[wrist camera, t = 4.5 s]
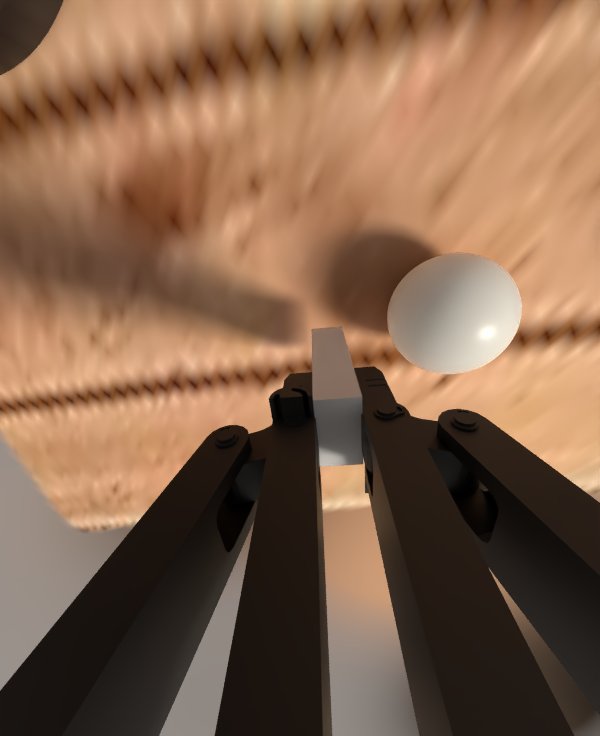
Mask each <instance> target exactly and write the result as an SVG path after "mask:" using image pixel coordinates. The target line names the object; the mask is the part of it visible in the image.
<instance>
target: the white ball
mask: <svg viewBox="0 0 600 736" xmlns="http://www.w3.org/2000/svg"><path fill="white" fill-rule="evenodd" d="M521 312H522V303H521V298H520V293H519V290H518V288H517V285H516V284H515V282H514V280H513V279H512V277H511V276H510V275H509V273H508V272H507V271H506V270H505V269H504V268H502V267H501V266H500V265H499V264H497V263H496V262H494V261H492V260H490V259H488V258H486V257H483V256H480V255H476V254H471V253H449V254H444V255H440V256H436V257H433V258H431V259H429V260H427V261H425V262H423V263H421V264H419V265H418V266H416V267H415V268H414V269H412V270H411V271H410V272H409V273H408V274H407V275H406V276H405V277H404V278H403V279H402V280H401V281H400V283H399V284H398V285H397V287H396V289H395V290H394V292H393V295H392V297H391V299H390V303H389V306H388V312H387V323H388V330H389V334H390V337H391V339H392V342H393V344H394V345H395V347H396V349H397V350H398V351H399V352H400V353H401V355H402V356H403V357H404V358H405V359H407V360H408V361H409V362H411V363H412V364H414V365H415V366H417V367H419V368H422V369H424V370H427V371H430V372H434V373H441V374H457V373H463V372H468V371H472V370H475V369H477V368H480V367H482V366H484V365H486V364H487V363H489V362H491V361H492V360H494V359H495V358H496V357H497V356H499V355H500V354H501V353H502V352H503V351H504V350H505V349H506V348H507V346H508V345H509V344H510V342H511V341H512V340H513V338H514V336H515V334H516V332H517V330H518V327H519V324H520V319H521Z"/></svg>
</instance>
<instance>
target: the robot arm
mask: <svg viewBox="0 0 600 736" xmlns="http://www.w3.org/2000/svg"><path fill="white" fill-rule="evenodd" d="M62 3H63V0H0V75H1V74H3V73H5V72H7V71H9V70H11V69H12V68H14V67H15V66H17V65H18V64H19V63H21V62H22V61H23V60H24V59H25V58H27V57H28V56H29V55H30V54H31V53H32V52H33V51H34V50H35V48H36V47H37V46H38V45H39V44H40V43H41V41H42V40H43V38H44V37H45V36H46V34H47V33H48V31H49V29H50V28H51V26H52V24H53V22H54V20H55V19H56V16H57V14H58V12H59V10H60V7H61V5H62ZM269 402H270V408H271V413H272V419H273V423H272V425H271V426H269V427H268V428H266V429H263V430H261V431H258V432H254V433H251V434H248V430H247V429H245V428H244V427H242V426H238V425H229V426H225V427H221V428H219V429H217V430H215V431H213V432H212V433H211V434H210V435H209V436H208V437H207V438H206V439H205V440H204V442H203V443H202V444H201V445H200V446H199V448H198V449H197V450H196V451H195V453H194V454H193V455H192V456H191V458H190V459H189V460H188V461H187V462H186V464H185V465H184V466H183V467H182V469H181V470H180V471H179V472H178V473H177V475H176V476H175V477H174V478H173V480H172V481H171V482H170V483H169V485H168V486H167V487H166V488H165V489H164V491H163V492H162V493H161V494H160V496H159V497H158V498H157V499H156V500H155V502H154V503H153V504H152V505H151V507H150V508H149V509H148V510H147V511H146V513H145V514H144V515H143V516H142V518H141V519H140V520H139V521H138V523H137V524H136V525H135V526H134V527H133V529H132V530H131V531H130V532H129V534H128V535H127V536H126V537H125V538H124V540H123V541H122V542H121V544H120V545H119V546H118V547H117V548H116V550H115V551H114V552H113V553H112V554H111V556H110V557H109V558H108V559H107V561H106V562H105V563H104V564H103V565H102V567H101V568H100V569H99V570H98V572H97V573H96V574H95V575H94V576H93V578H92V579H91V580H90V581H89V583H88V584H87V585H86V586H85V588H84V589H83V590H82V591H81V593H80V594H79V595H78V596H77V597H76V599H75V600H74V601H73V602H72V604H71V605H70V606H69V607H68V608H67V610H66V611H65V612H64V613H63V615H62V616H61V617H60V618H59V619H58V621H57V622H56V623H55V624H54V626H53V627H52V628H51V629H50V630H49V632H48V633H47V634H46V636H45V637H44V638H43V639H42V640H41V642H40V643H39V644H38V646H37V647H36V648H35V649H34V650H33V651H32V653H31V654H30V655H29V656H28V658H27V659H26V660H25V661H24V662H23V664H22V665H21V666H20V667H19V668H18V670H17V671H16V673H14V675H13V676H12V677H11V678H10V680H9V681H8V682H7V683H6V685H5V686H4V687H3V688H2V689H1V691H0V736H159V734H160V732H161V730H162V728H163V725H164V723H165V721H166V719H167V716H168V714H169V712H170V710H171V707H172V705H173V703H174V701H175V698H176V696H177V694H178V691H179V689H180V687H181V685H182V682H183V680H184V678H185V676H186V673H187V671H188V669H189V667H190V664H191V662H192V660H193V657H194V655H195V653H196V651H197V648H198V646H199V644H200V642H201V639H202V637H203V635H204V633H205V630H206V628H207V626H208V624H209V621H210V619H211V617H212V615H213V612H214V610H215V608H216V606H217V603H218V601H219V599H220V596H221V594H222V592H223V590H224V587H225V585H226V583H227V580H228V578H229V576H230V574H231V572H232V569H233V567H234V565H235V563H236V560H237V558H238V556H239V554H240V551H241V549H242V547H243V545H244V542H245V540H246V538H247V536H248V533H249V531H250V528H251V526H252V524H253V522H254V526H253V532H252V537H251V542H250V548H249V553H248V558H247V564H246V569H245V575H244V580H243V585H242V591H241V597H240V602H239V607H238V613H237V618H236V623H235V629H234V635H233V640H232V645H231V650H230V656H229V662H228V667H227V672H226V677H225V683H224V689H223V694H222V699H221V704H220V710H219V716H218V721H217V726H216V732H215V736H332V721H331V720H332V719H331V696H330V673H329V650H328V629H327V605H326V584H325V583H326V582H325V559H324V539H323V538H324V537H323V514H322V491H321V474H320V466H338V465H356V464H363V458H364V462H365V493H369V498H370V502H371V507H372V512H373V517H374V521H375V525H376V531H377V536H378V540H379V545H380V550H381V554H382V559H383V564H384V568H385V574H386V578H387V583H388V588H389V593H390V597H391V602H392V606H393V612H394V616H395V621H396V626H397V630H398V635H399V640H400V645H401V650H402V654H403V659H404V664H405V669H406V673H407V678H408V683H409V687H410V692H411V697H412V702H413V707H414V711H415V716H416V721H417V726H418V731H419V735H420V736H574V734H573V732H572V731H571V728H570V726H569V725H568V723H567V721H566V719H565V717H564V715H563V713H562V711H561V709H560V707H559V706H558V703H557V701H556V699H555V697H554V695H553V693H552V692H551V689H550V687H549V685H548V684H547V682H546V680H545V678H544V676H543V674H542V672H541V670H540V668H539V666H538V664H537V662H536V660H535V658H534V656H533V654H532V652H531V650H530V648H529V646H528V644H527V642H526V640H525V639H524V637H523V635H522V633H521V631H520V629H519V627H518V625H517V623H516V621H515V619H514V617H513V615H512V613H511V611H510V609H509V607H508V605H507V603H506V601H505V599H504V597H503V595H502V593H501V591H500V590H499V588H498V586H497V584H496V582H495V580H494V578H493V576H492V574H491V572H490V570H491V571H492V573H493V574H494V575H495V577H496V578H497V579H498V581H499V582H500V583H501V584H502V586H503V587H504V588H505V590H506V591H507V592H508V594H509V595H510V596H511V598H512V599H513V600H514V602H515V603H516V604H517V606H518V607H519V608H520V610H521V611H522V612H523V613H524V615H525V616H526V617H527V619H528V620H529V621H530V623H531V624H532V625H533V627H534V628H535V629H536V631H537V632H538V633H539V635H540V636H541V637H542V639H543V640H544V641H545V643H546V644H547V645H548V647H549V648H550V649H551V651H552V652H553V653H554V654H555V656H556V657H557V658H558V660H559V661H560V663H561V664H562V665H563V666H564V668H565V669H566V670H567V672H568V673H569V674H570V676H571V677H572V678H573V680H574V681H575V682H576V684H577V685H578V686H579V687H580V689H581V690H582V692H583V693H584V694H585V696H586V697H587V698H588V700H589V701H590V702H591V703H592V705H593V706H594V707H595V709H596V710H597V711H598V713H599V714H600V503H599V502H598V501H597V500H595V499H594V498H593V497H591V496H590V495H589V494H587V493H586V492H585V491H583V490H582V489H581V488H579V487H578V486H576V485H575V484H574V483H572V482H571V481H570V480H568V479H567V478H566V477H564V476H563V475H562V474H560V473H559V472H558V471H556V470H555V469H554V468H552V467H551V466H550V465H548V464H547V463H546V462H544V461H543V460H542V459H540V458H539V457H537V456H536V455H535V454H533V453H532V452H531V451H529V450H528V449H527V448H525V447H524V446H523V445H521V444H520V443H519V442H517V441H516V440H515V439H513V438H512V437H511V436H509V435H508V434H507V433H505V432H504V431H502V430H501V429H500V428H498V427H497V426H496V425H494V424H493V423H492V422H490V421H489V420H488V419H486V418H485V417H483V416H481V415H479V414H478V413H475V412H472V411H469V410H462V409H452V410H447V411H445V412H442V413H441V415H440V416H439V418H438V421H432V420H425V419H419V418H415V417H412V416H411V415H410V413H409V411H408V410H407V409H406V408H405V407H404V406H402V405H400V404H398V403H397V402H396V400H395V398H394V396H393V394H392V392H391V390H390V388H389V386H388V384H387V381H386V380H385V377H384V375H383V373H382V372H381V371H380V370H379V369H377V368H376V367H374V366H373V367H361V368H354V367H353V364H352V361H351V357H350V354H349V350H348V347H347V344H346V340H345V337H344V333H343V330H342V327H331V328H320V329H312V372H309V373H296V374H290V375H289V376H288V377H287V378H286V379H285V380H284V386H283V388H281V389H279V390H277V391H275V392H274V393H272V394H271V396H270V398H269ZM488 567H489V568H488ZM489 569H490V570H489Z"/></svg>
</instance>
